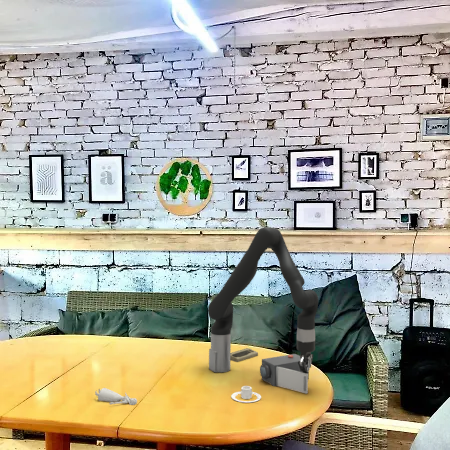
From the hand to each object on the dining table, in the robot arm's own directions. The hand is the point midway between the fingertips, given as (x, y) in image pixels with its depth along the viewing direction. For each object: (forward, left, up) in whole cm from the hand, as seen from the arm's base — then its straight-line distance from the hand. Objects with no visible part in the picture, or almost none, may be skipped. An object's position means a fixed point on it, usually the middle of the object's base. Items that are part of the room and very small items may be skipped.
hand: (305, 379), depth 209 cm
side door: (-5, +3, -4) cm, 7 cm away
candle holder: (-26, +5, -5) cm, 27 cm away
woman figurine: (-73, +25, -5) cm, 77 cm away
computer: (0, +52, -5) cm, 53 cm away
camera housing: (-1, +15, -5) cm, 16 cm away
